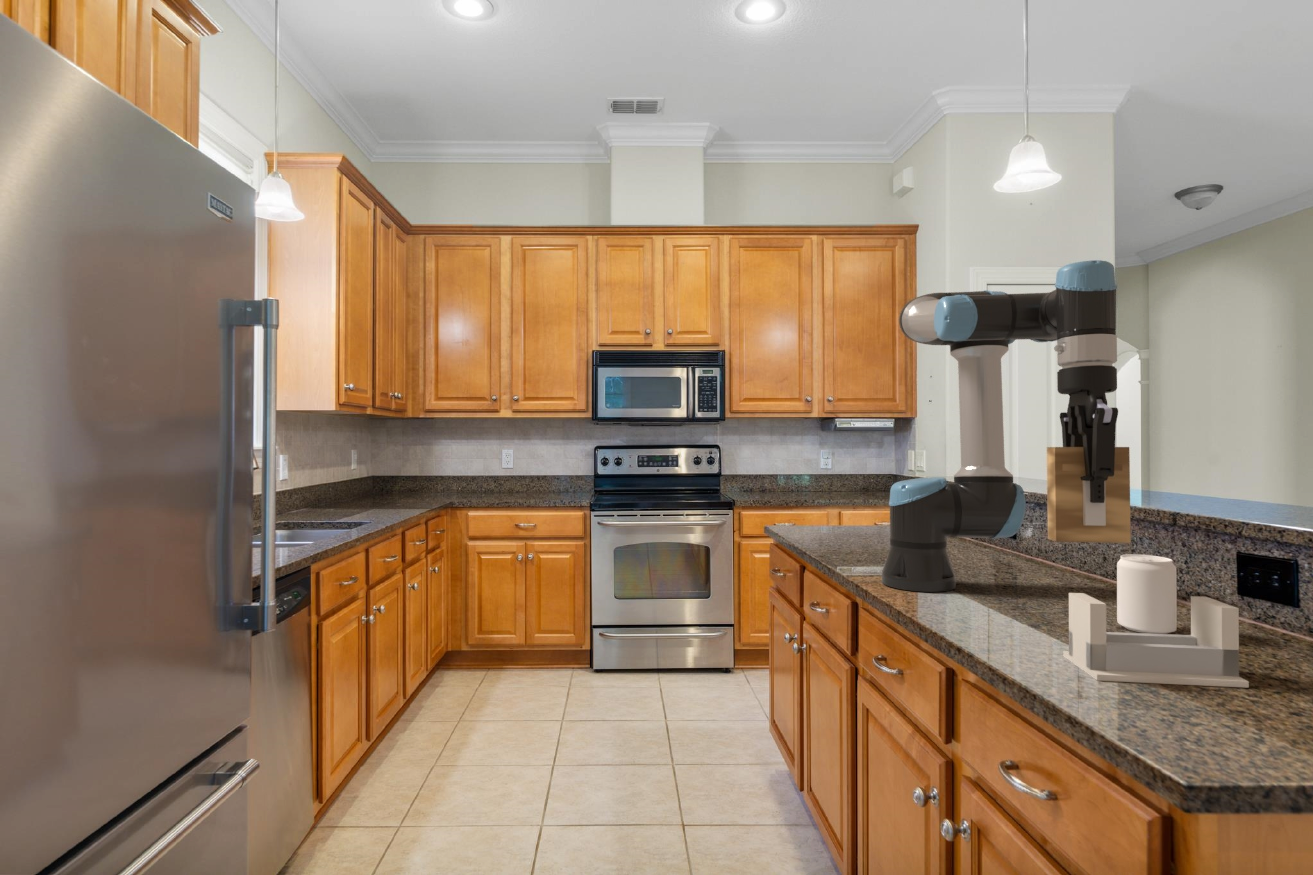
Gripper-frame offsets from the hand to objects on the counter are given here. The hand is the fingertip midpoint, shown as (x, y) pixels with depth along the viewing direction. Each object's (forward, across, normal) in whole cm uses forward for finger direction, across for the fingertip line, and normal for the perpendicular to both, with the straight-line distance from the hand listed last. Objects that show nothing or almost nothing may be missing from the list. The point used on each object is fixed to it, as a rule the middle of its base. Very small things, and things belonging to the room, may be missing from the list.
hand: (1088, 523), depth 100 cm
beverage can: (+19, -16, +16) cm, 30 cm away
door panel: (+3, 0, 0) cm, 3 cm away
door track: (+20, +6, +5) cm, 21 cm away
